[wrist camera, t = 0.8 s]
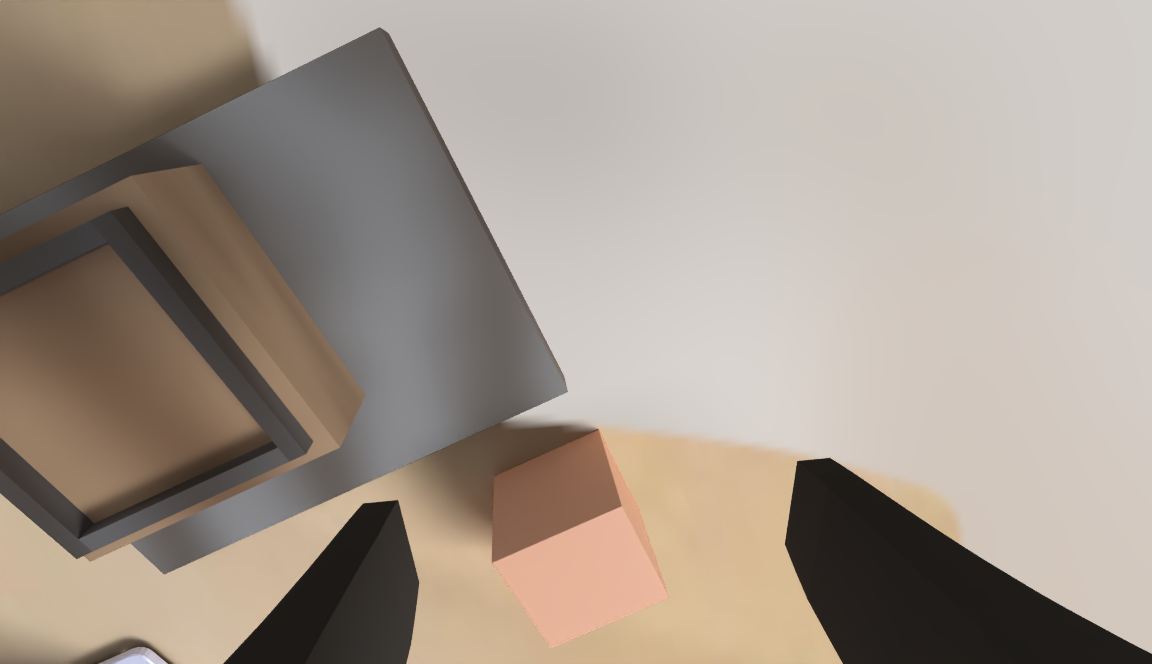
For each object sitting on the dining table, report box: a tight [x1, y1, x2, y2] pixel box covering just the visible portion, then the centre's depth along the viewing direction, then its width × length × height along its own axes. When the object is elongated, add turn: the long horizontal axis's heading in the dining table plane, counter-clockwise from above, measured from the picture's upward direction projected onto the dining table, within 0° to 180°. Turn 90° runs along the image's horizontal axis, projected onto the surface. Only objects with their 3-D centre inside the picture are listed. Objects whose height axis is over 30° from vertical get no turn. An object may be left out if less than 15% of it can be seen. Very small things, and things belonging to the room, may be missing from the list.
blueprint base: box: [0, 28, 568, 574], centre depth 15 cm, size 16×12×5 cm
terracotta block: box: [492, 430, 669, 648], centre depth 20 cm, size 4×4×4 cm
